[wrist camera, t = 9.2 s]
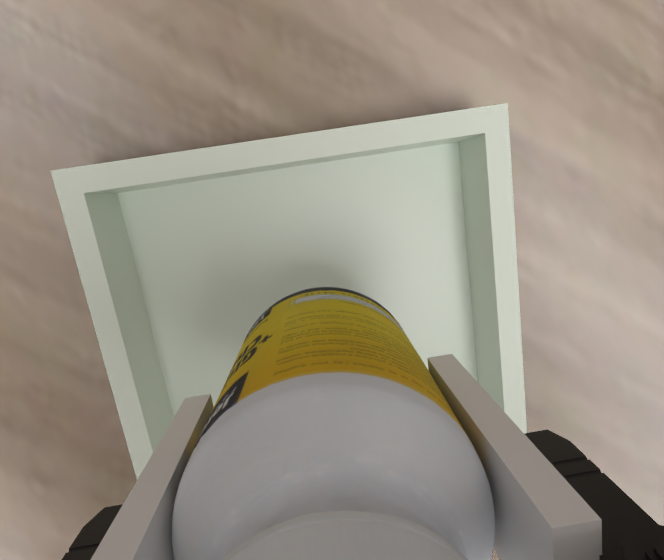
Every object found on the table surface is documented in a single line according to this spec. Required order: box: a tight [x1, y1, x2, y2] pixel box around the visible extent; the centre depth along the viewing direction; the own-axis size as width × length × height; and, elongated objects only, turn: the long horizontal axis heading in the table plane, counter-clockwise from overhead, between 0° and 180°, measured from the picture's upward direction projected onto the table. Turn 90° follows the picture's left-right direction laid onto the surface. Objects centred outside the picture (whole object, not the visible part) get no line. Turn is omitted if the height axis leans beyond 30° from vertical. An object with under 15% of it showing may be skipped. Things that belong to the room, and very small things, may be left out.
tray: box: [51, 103, 527, 479], centre depth 20 cm, size 18×18×4 cm
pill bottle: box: [172, 286, 495, 560], centre depth 11 cm, size 6×6×12 cm
